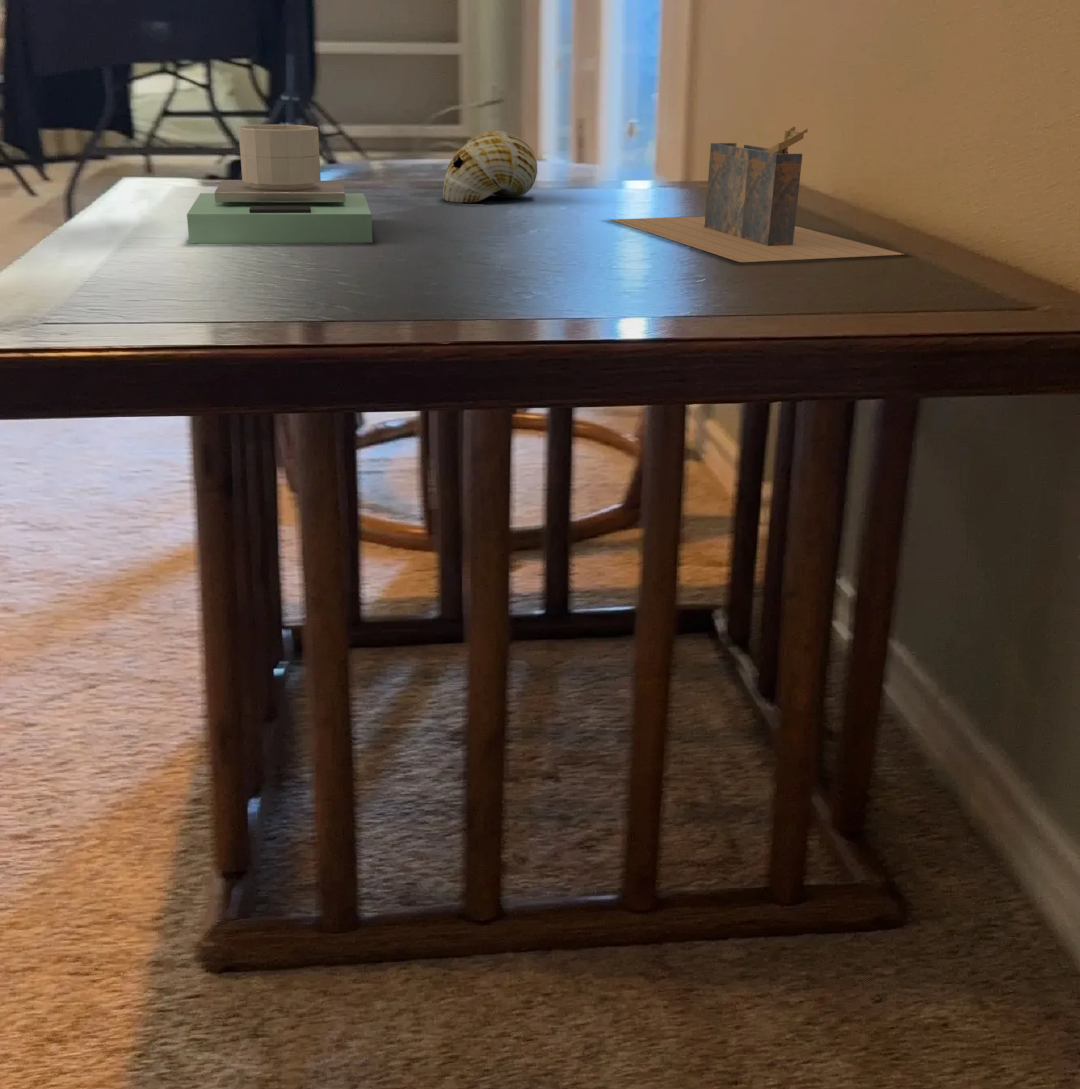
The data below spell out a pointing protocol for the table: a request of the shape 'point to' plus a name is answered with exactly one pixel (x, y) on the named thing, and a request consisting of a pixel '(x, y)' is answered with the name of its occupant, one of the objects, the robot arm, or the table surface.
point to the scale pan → (279, 193)
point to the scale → (279, 221)
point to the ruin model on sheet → (754, 210)
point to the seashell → (490, 168)
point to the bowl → (280, 156)
